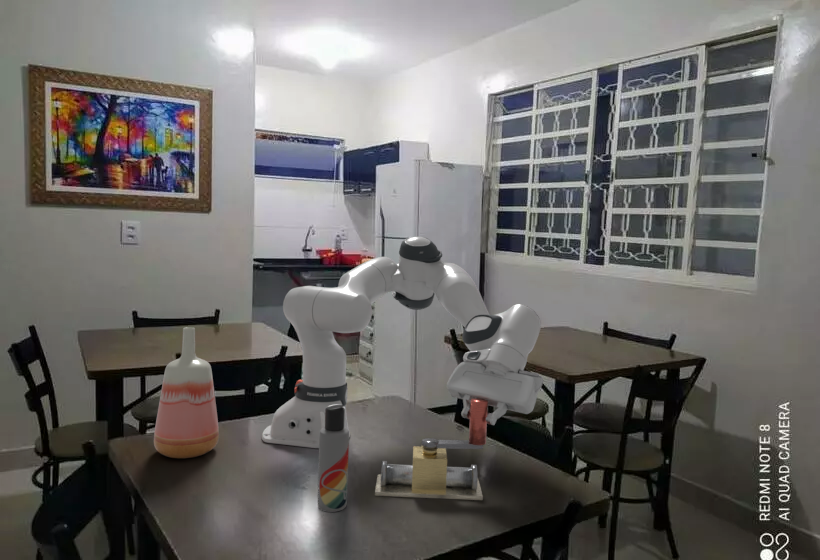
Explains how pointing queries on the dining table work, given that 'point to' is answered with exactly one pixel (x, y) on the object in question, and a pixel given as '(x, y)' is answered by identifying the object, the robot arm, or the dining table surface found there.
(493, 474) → the dining table surface
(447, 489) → the pipe valve
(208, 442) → the vase
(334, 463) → the lotion bottle
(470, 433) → the lever
